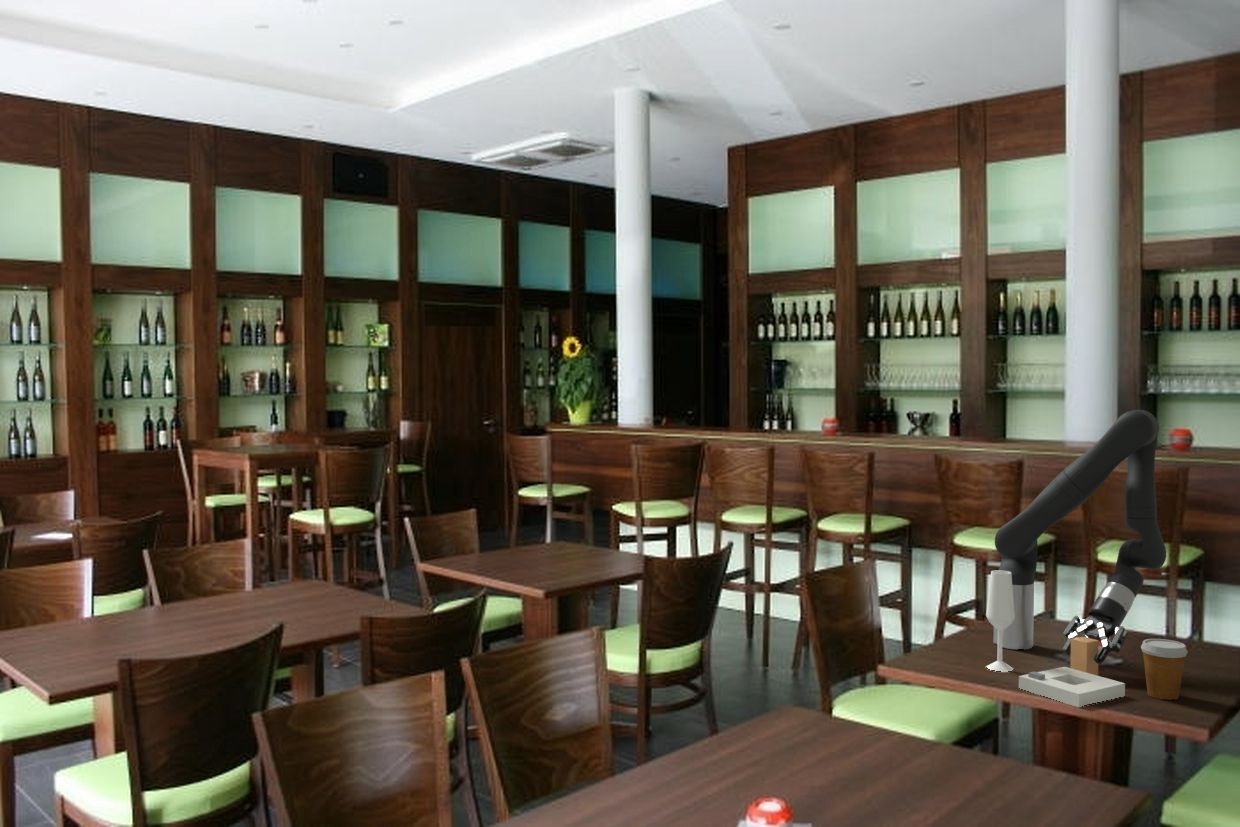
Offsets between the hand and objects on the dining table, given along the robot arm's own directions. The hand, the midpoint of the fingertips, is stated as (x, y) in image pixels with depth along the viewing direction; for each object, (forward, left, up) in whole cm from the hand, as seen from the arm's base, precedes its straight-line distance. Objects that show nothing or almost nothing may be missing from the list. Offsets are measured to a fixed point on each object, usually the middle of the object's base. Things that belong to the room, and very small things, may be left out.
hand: (1081, 657), depth 260 cm
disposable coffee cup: (+19, +3, -5) cm, 20 cm away
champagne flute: (-15, -11, -5) cm, 19 cm away
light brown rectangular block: (0, +1, -5) cm, 5 cm away
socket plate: (+7, -13, -5) cm, 15 cm away
